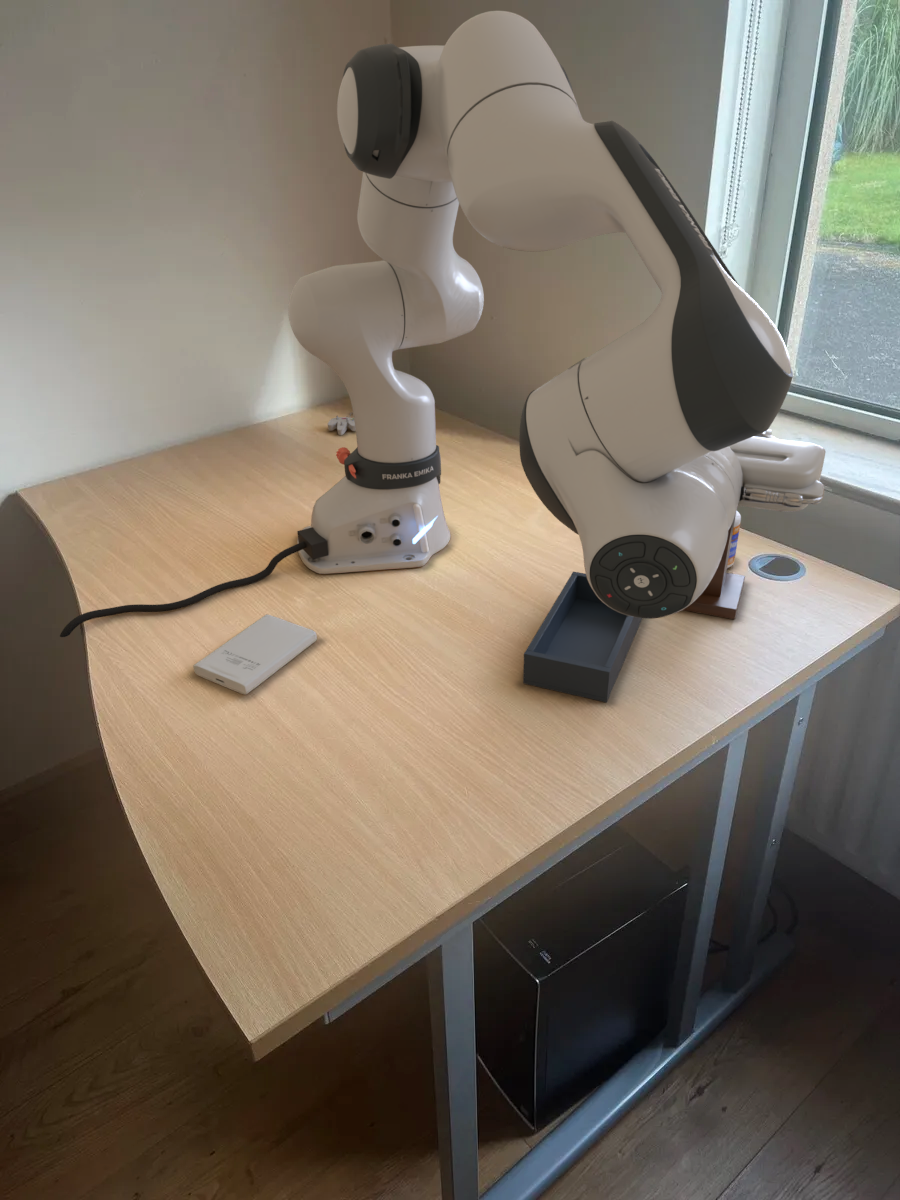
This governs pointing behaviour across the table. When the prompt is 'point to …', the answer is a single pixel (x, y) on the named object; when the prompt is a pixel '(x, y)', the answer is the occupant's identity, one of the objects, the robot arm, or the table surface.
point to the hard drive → (255, 654)
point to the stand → (721, 589)
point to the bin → (579, 644)
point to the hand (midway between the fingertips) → (709, 431)
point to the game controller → (341, 424)
